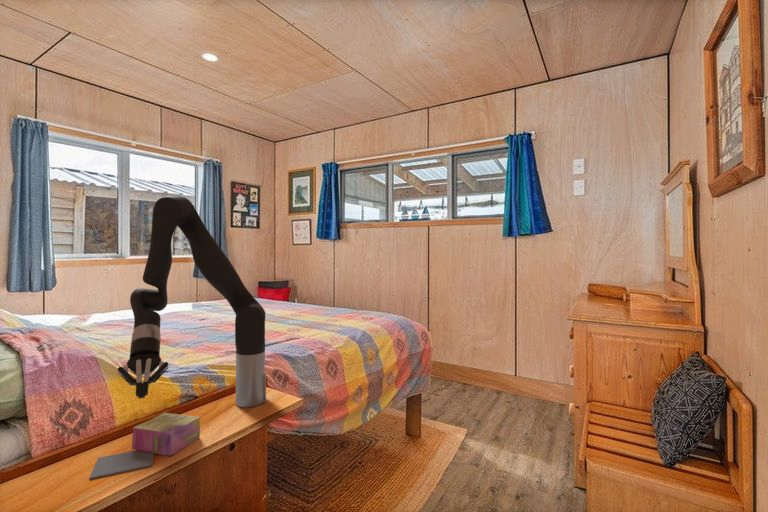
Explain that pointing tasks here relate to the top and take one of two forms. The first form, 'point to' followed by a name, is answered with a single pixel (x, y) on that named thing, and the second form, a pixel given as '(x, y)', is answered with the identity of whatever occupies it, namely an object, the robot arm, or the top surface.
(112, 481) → the top surface
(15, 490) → the top surface
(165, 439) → the box
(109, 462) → the mat
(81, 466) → the top surface
